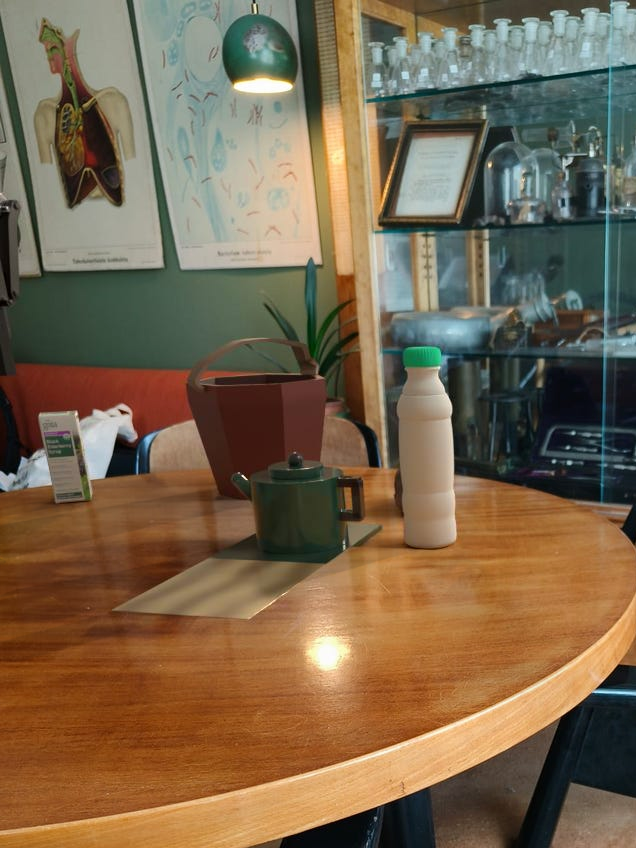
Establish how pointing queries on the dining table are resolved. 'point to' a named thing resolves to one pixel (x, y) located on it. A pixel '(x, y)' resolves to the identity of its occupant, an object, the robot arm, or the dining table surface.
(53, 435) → the syrup box
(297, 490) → the kettle
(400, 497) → the perforated stone tool
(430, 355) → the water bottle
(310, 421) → the bucket
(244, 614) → the board
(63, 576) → the dining table surface
